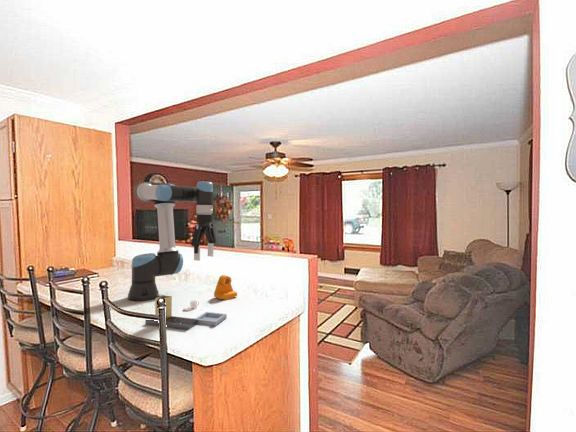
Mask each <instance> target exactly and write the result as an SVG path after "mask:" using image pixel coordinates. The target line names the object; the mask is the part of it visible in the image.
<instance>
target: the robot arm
mask: <svg viewBox="0 0 576 432" xmlns="http://www.w3.org/2000/svg"><path fill="white" fill-rule="evenodd" d="M134 195H135V198H137V199H138V200H140V201H142V202H145V203H153V204H154V205H153V206H154V208H156V209H157V225H158V241H159V250H158V251H157V252H156V253H154V252H152V253H151V252H150V253H143V254H138V255H135V256H134V257H133V258H132V259H131V260H132V261H131V285H130V287H129V291H128V293H127V299H128V300H129V301H132V302H134V301H135V302H141V301H150V300H153V299H155V298H157V297H159V290H158V287H157V284H156V277H162V276H163V277H164V276H169V275H171V276H173V275H175V274H179V273H180V272H181V271H182V268H183V265H184V257H183V255H182V253H180V252H179V250H178V248H176V237H175V233H176V232H175V221H174V207H175V206H176V203H177V202H184V203H185V202H186V203H196V219H195V220H196V223H198V224H194V231H193V235H192V238H191V242H190V246H191V247H193V261H198V262H200V261H201V246H200V245H201V242H202V240H203V237H204V235H205V236H206V240H207V241H208V243H207V257H212V258H213V257H214V244H216V241H217V239H216V234H215V230H214V224H213V211H214V207H213V205H214V185H213V182H211V181H198V182H197V183H196V186H186V185H185V186H183V185H175V184H173V183H167V182H166V183H165V182H155V181H153V182H152V181H144V182H140V183H138V184H137V185H136V186H135V187H134Z"/></svg>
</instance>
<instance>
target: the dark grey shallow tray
mask: <svg viewBox="0 0 576 432" xmlns="http://www.w3.org/2000/svg"><path fill="white" fill-rule="evenodd" d="M144 321H145V322H144V325H146V326H152V327H158V326H159V323H158V321H154V320H146V319H145V320H144ZM166 325H167V328H166V329H174V330H175V329H176V330H184V331H189V330H191V329H192V328H194V327H196V326H197V325H199V324H198V319H195V318H193V317H192V318H191V317H181V316H176V315H175V316H174V315H172V317H171V319H169V320H167V321H166Z"/></svg>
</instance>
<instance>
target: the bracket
mask: <svg viewBox="0 0 576 432" xmlns="http://www.w3.org/2000/svg"><path fill="white" fill-rule="evenodd" d="M237 296H238V292H237V291H235V290H233V286H232V278H231V276H229V275H225V274H222V275H220V276H219V278H218V281H217V284H216V286H215V290H214V292H213V297H214V298H216V299H219V300H224V301H228V300H232V299H234V298H235V297H237Z"/></svg>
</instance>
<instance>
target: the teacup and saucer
mask: <svg viewBox="0 0 576 432" xmlns="http://www.w3.org/2000/svg"><path fill="white" fill-rule="evenodd" d="M189 304H190V306H188V307H187V306H185V307H184V308H183V311H184V312H190V311H192V310H197V309H200V310H199V311H201V310H202V309H203V307H201V306H199V304H200V303H199V301H197V300H191V301H190V302H189ZM197 307H198V308H197Z"/></svg>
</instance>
